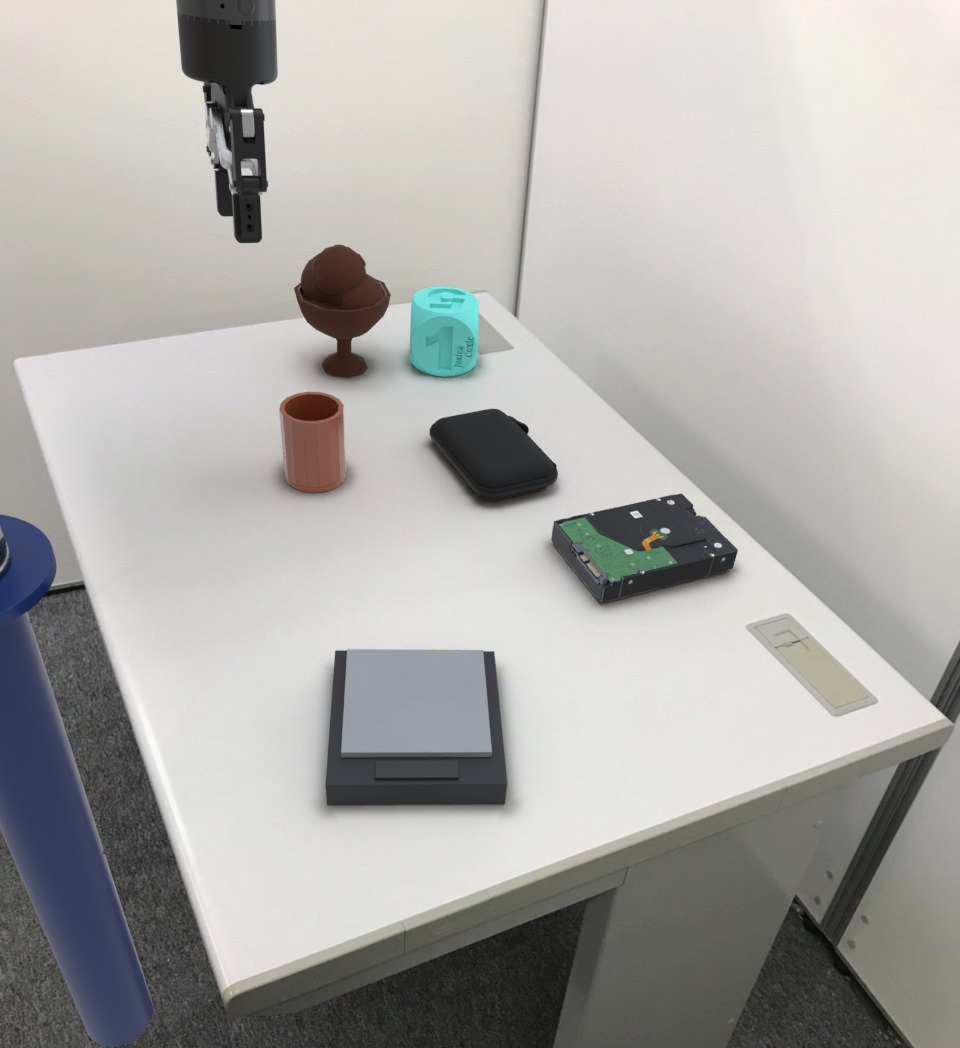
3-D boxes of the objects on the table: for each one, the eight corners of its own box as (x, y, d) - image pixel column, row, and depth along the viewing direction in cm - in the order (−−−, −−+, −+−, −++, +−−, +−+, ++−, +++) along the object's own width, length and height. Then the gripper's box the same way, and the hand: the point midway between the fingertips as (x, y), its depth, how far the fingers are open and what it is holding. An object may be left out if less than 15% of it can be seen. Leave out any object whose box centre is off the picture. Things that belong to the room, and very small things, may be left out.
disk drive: (675, 514, 103) (548, 542, 98) (680, 491, 101) (551, 518, 96) (733, 572, 96) (601, 606, 91) (741, 549, 94) (605, 582, 89)
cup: (282, 492, 101) (276, 422, 96) (287, 459, 106) (282, 390, 101) (344, 493, 102) (342, 424, 97) (346, 460, 106) (344, 392, 101)
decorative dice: (409, 375, 121) (410, 312, 116) (411, 345, 127) (412, 283, 122) (475, 379, 121) (479, 316, 116) (474, 348, 127) (478, 287, 122)
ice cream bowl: (406, 374, 121) (408, 251, 111) (324, 396, 116) (318, 269, 106) (363, 339, 127) (360, 219, 117) (283, 358, 122) (273, 234, 112)
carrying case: (572, 490, 105) (508, 422, 114) (576, 465, 103) (510, 398, 112) (481, 511, 101) (422, 439, 111) (483, 485, 99) (423, 414, 109)
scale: (326, 805, 73) (325, 779, 71) (336, 671, 83) (334, 644, 81) (504, 804, 74) (508, 778, 72) (492, 671, 84) (495, 645, 82)
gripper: (164, -2, 82) (183, 208, 91) (190, 17, 71) (208, 252, 81) (257, 4, 84) (265, 207, 94) (295, 23, 74) (300, 250, 83)
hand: (239, 228), depth 87 cm, fingers open, 8 cm apart
